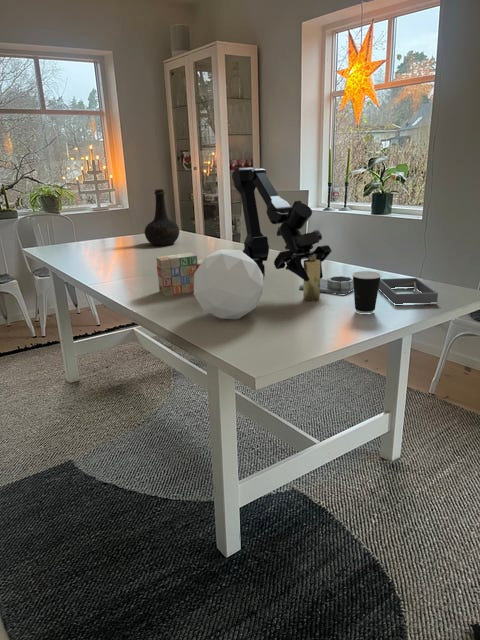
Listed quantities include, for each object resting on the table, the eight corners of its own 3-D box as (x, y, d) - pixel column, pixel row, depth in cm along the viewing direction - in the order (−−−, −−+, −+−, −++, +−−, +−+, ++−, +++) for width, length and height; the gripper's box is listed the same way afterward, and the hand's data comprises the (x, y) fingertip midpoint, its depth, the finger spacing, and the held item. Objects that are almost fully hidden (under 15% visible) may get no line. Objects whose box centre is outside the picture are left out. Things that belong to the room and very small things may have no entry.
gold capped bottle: (304, 301, 148) (304, 258, 143) (302, 297, 152) (302, 254, 148) (320, 301, 148) (321, 257, 143) (318, 296, 152) (319, 254, 148)
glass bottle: (141, 247, 247) (135, 191, 237) (152, 241, 263) (147, 188, 254) (174, 247, 244) (170, 190, 235) (184, 241, 260) (180, 187, 251)
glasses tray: (394, 305, 140) (395, 294, 139) (378, 289, 158) (378, 279, 156) (436, 304, 140) (438, 293, 139) (415, 288, 157) (416, 277, 156)
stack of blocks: (217, 283, 173) (215, 249, 169) (224, 287, 167) (222, 252, 163) (159, 291, 164) (155, 256, 160) (164, 296, 159) (160, 259, 155)
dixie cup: (344, 312, 136) (346, 274, 133) (360, 306, 141) (362, 269, 138) (369, 318, 131) (371, 279, 127) (384, 311, 136) (387, 273, 132)
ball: (215, 343, 136) (167, 292, 129) (238, 300, 150) (196, 252, 143) (265, 321, 124) (215, 263, 117) (285, 277, 138) (242, 223, 131)
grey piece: (299, 289, 161) (299, 278, 160) (315, 281, 170) (315, 271, 169) (344, 295, 152) (344, 284, 151) (359, 286, 162) (359, 276, 160)
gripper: (278, 224, 141) (301, 268, 136) (328, 219, 150) (351, 259, 144) (264, 247, 150) (285, 289, 145) (312, 241, 159) (333, 280, 153)
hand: (314, 279), depth 147 cm, fingers closed on gold capped bottle, 5 cm apart
